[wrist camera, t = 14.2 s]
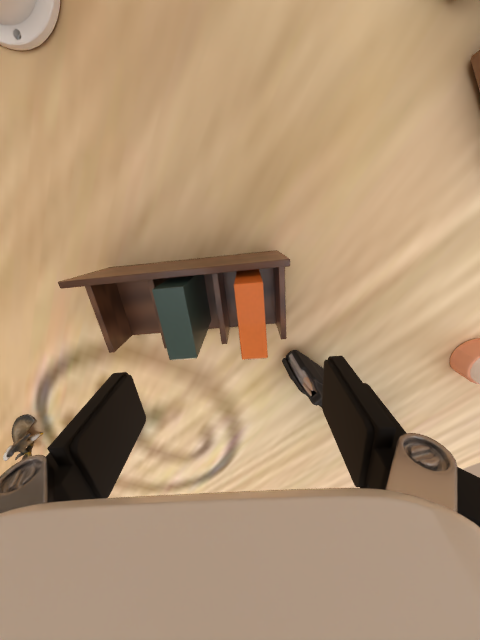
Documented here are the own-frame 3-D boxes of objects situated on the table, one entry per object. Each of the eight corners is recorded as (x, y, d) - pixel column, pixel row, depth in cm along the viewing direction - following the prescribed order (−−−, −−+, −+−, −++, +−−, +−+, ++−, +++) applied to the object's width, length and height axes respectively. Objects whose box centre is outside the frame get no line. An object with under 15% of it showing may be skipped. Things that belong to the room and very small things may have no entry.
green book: (181, 270, 35) (151, 289, 24) (202, 268, 35) (182, 286, 24) (191, 323, 39) (169, 361, 28) (211, 321, 39) (197, 359, 27)
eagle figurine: (54, 451, 51) (41, 429, 47) (13, 478, 46) (-6, 457, 41) (40, 430, 55) (27, 407, 50) (1, 453, 50) (-19, 431, 45)
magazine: (434, 472, 39) (348, 436, 25) (417, 481, 40) (326, 451, 26) (368, 393, 54) (289, 341, 39) (357, 401, 55) (277, 354, 40)
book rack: (109, 267, 36) (57, 281, 26) (277, 250, 35) (290, 258, 25) (130, 333, 41) (92, 367, 31) (279, 321, 39) (291, 353, 29)
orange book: (237, 265, 35) (233, 284, 23) (257, 263, 35) (263, 281, 23) (243, 319, 38) (242, 361, 26) (260, 318, 38) (267, 359, 26)
